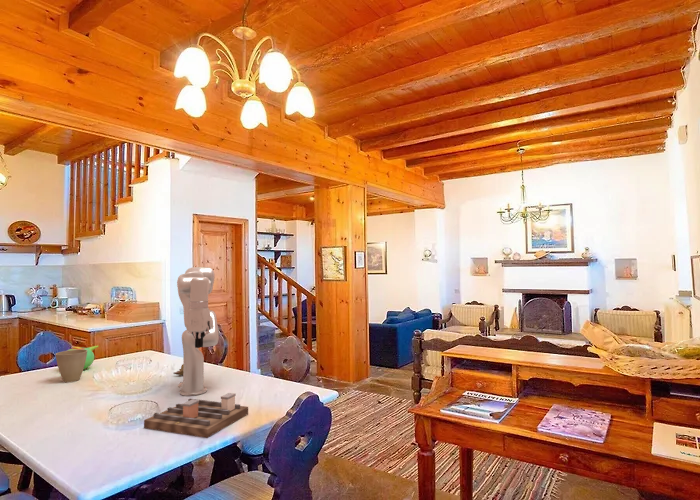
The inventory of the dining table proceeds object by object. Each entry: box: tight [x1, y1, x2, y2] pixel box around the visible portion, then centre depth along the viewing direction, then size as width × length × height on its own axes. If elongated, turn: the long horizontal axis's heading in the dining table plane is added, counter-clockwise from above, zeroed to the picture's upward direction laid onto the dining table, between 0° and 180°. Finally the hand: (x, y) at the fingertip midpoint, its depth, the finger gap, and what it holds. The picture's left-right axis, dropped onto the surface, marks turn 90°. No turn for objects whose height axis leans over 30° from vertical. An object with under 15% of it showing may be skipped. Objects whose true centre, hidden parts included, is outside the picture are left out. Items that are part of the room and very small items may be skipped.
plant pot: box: [55, 349, 87, 383], centre depth 232 cm, size 15×15×16 cm
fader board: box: [143, 398, 249, 439], centre depth 168 cm, size 30×26×5 cm
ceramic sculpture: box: [172, 363, 183, 376], centre depth 243 cm, size 11×9×15 cm
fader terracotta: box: [181, 399, 200, 418], centre depth 162 cm, size 3×5×6 cm, turn 160°
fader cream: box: [220, 392, 236, 411], centre depth 171 cm, size 3×5×6 cm, turn 160°
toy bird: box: [66, 345, 99, 370], centre depth 258 cm, size 18×17×15 cm
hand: (199, 347), depth 183 cm, fingers closed
